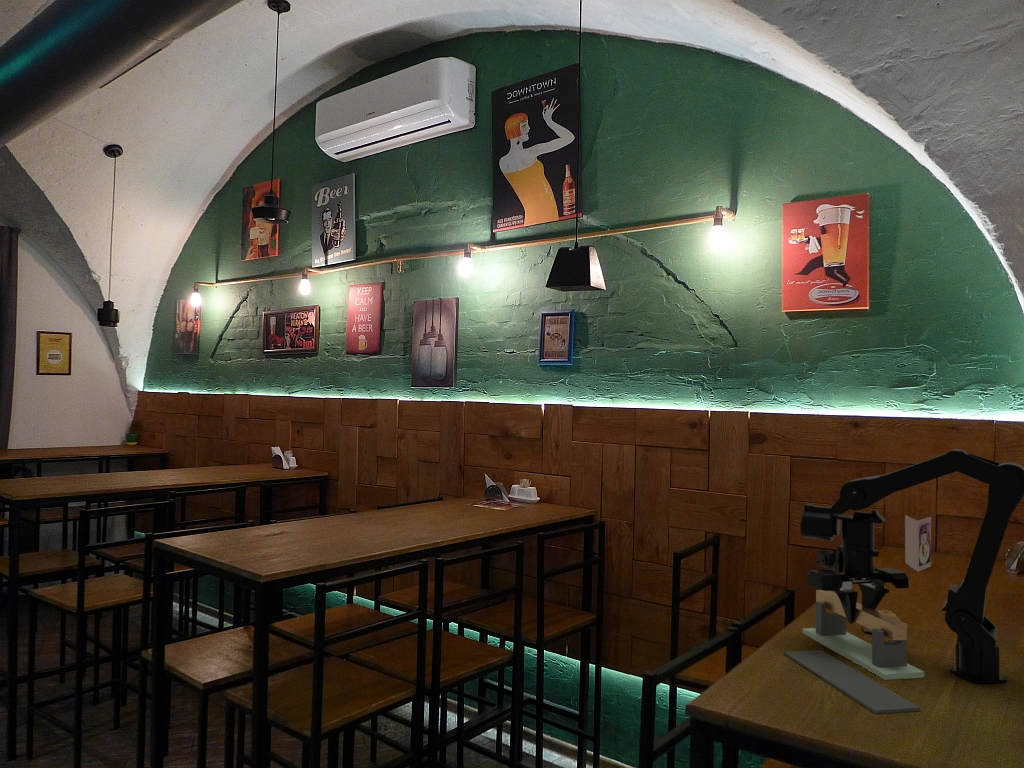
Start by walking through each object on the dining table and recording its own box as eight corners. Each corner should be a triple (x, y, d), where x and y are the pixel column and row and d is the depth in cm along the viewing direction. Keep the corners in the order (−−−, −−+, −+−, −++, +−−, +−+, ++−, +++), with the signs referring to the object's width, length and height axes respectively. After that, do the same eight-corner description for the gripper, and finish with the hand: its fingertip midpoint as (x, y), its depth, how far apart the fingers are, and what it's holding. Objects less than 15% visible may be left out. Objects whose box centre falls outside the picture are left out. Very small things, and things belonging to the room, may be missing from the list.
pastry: (886, 639, 151) (886, 621, 152) (853, 631, 156) (853, 614, 157) (903, 630, 158) (903, 612, 158) (871, 623, 163) (871, 606, 163)
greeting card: (920, 572, 211) (920, 521, 211) (893, 568, 217) (893, 517, 217) (934, 566, 219) (934, 517, 219) (907, 562, 224) (907, 514, 225)
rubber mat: (920, 710, 116) (920, 707, 116) (875, 713, 114) (875, 710, 114) (821, 652, 142) (821, 649, 142) (783, 654, 141) (783, 651, 141)
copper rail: (907, 639, 131) (907, 624, 131) (893, 640, 130) (893, 624, 130) (828, 602, 154) (828, 589, 154) (816, 603, 154) (816, 590, 154)
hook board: (924, 677, 130) (924, 635, 130) (884, 679, 129) (884, 637, 129) (836, 631, 155) (836, 596, 156) (802, 633, 154) (802, 597, 154)
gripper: (873, 534, 152) (873, 609, 152) (792, 536, 149) (791, 612, 149) (911, 545, 141) (911, 625, 141) (823, 547, 138) (823, 629, 138)
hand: (857, 622), depth 142 cm, fingers closed on copper rail, 3 cm apart
